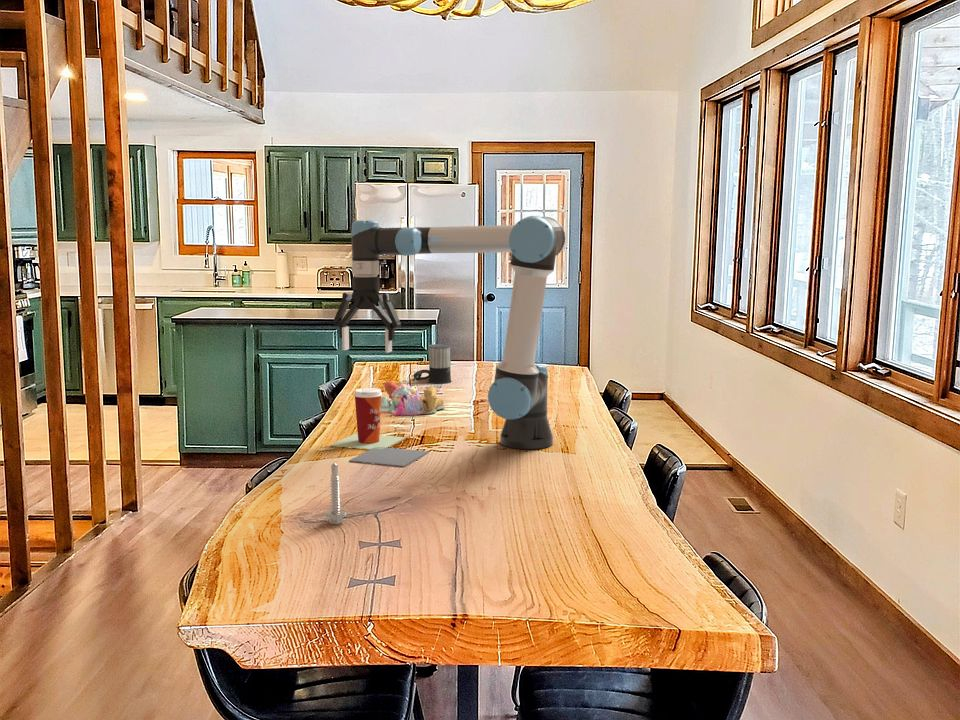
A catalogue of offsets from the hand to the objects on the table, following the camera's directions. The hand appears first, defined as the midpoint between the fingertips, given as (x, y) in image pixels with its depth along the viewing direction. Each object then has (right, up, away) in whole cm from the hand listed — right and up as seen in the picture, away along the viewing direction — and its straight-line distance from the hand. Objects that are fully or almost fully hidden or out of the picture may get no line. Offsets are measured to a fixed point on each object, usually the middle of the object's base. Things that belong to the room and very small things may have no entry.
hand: (367, 351), depth 256 cm
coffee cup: (0, -26, +4) cm, 26 cm away
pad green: (0, -26, +4) cm, 27 cm away
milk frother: (+13, -11, +108) cm, 109 cm away
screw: (+2, -37, -66) cm, 76 cm away
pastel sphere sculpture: (+8, -20, +52) cm, 56 cm away
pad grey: (+8, -29, -13) cm, 32 cm away
